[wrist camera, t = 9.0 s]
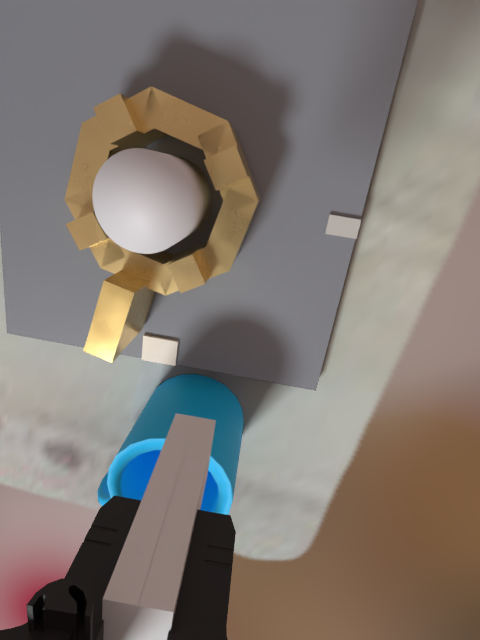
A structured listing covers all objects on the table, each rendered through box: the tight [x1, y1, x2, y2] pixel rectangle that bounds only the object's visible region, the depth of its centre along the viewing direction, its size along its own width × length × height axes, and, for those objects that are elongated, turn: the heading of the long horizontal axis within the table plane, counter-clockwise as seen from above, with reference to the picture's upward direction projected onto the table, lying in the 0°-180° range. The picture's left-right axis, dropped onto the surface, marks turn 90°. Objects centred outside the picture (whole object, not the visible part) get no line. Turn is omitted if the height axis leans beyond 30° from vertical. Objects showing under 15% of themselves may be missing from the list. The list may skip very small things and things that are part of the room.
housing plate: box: [0, 0, 418, 390], centre depth 22 cm, size 24×24×8 cm
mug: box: [98, 374, 244, 515], centre depth 29 cm, size 12×8×8 cm
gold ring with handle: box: [65, 86, 261, 362], centre depth 23 cm, size 15×10×6 cm
